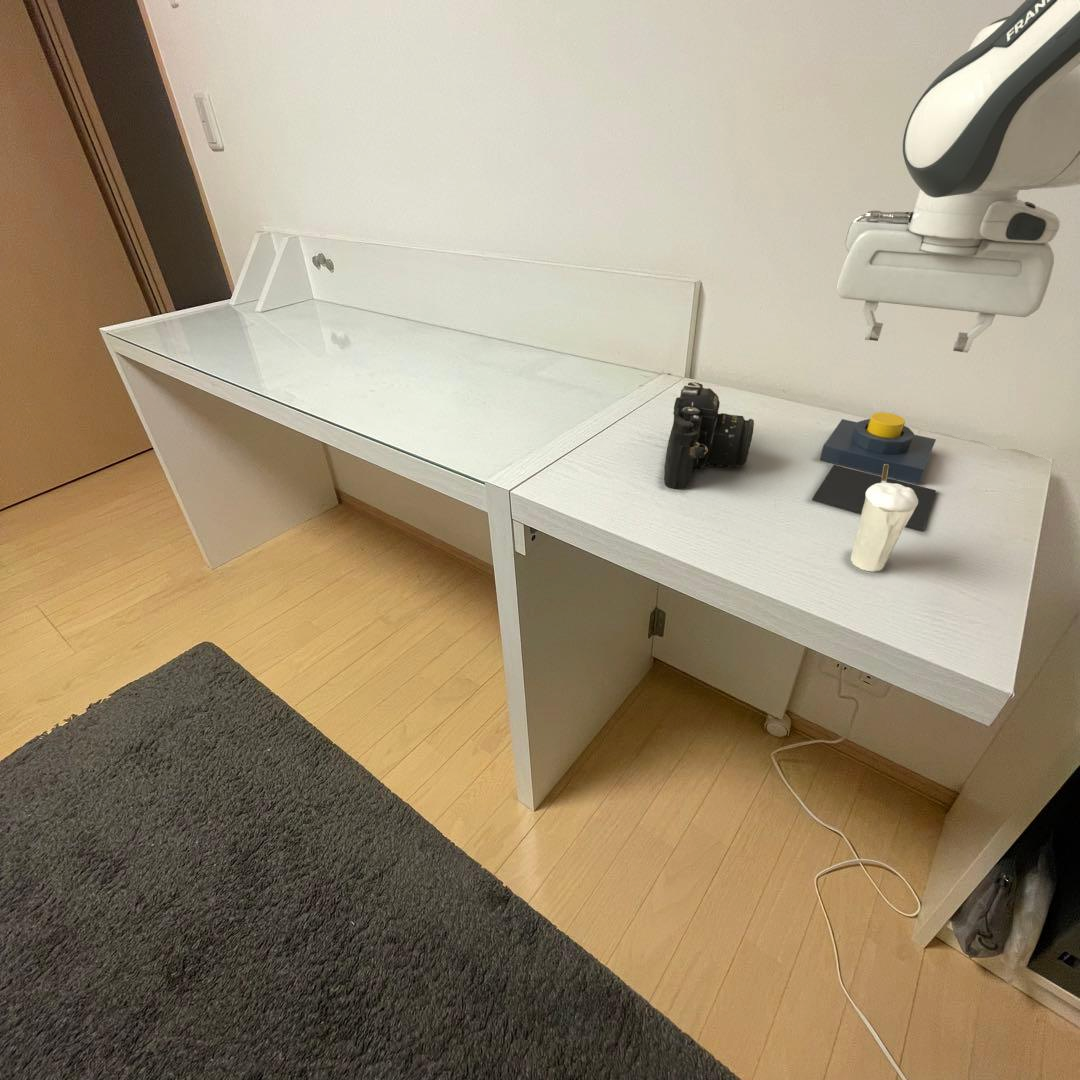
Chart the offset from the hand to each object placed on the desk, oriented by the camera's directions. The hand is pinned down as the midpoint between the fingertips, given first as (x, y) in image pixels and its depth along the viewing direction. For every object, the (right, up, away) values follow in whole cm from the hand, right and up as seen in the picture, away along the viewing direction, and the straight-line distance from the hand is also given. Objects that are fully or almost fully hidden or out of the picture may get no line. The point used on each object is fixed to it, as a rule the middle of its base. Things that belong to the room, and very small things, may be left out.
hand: (914, 344), depth 73 cm
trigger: (+1, -9, +8) cm, 12 cm away
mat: (-4, -18, +2) cm, 19 cm away
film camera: (-23, -13, +10) cm, 28 cm away
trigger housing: (+1, -12, +10) cm, 16 cm away
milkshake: (-10, -26, -8) cm, 29 cm away
